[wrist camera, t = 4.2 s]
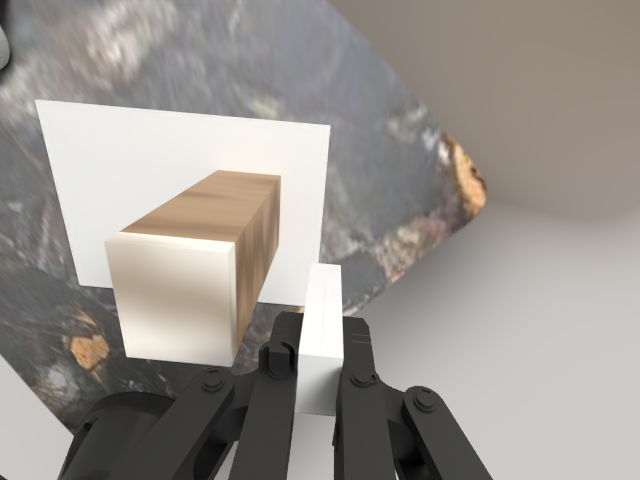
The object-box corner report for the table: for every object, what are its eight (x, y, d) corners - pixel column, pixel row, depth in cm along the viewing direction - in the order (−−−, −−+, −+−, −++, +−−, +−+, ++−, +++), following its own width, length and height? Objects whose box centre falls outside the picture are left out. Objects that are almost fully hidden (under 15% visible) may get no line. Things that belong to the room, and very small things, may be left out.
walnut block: (278, 245, 29) (231, 366, 16) (220, 239, 29) (126, 356, 16) (281, 175, 26) (228, 252, 13) (217, 169, 26) (103, 240, 13)
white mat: (314, 304, 31) (314, 307, 31) (82, 282, 31) (79, 285, 31) (330, 125, 25) (330, 125, 24) (39, 99, 25) (34, 99, 25)
